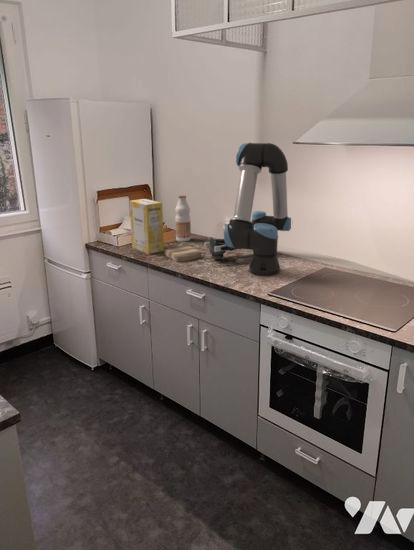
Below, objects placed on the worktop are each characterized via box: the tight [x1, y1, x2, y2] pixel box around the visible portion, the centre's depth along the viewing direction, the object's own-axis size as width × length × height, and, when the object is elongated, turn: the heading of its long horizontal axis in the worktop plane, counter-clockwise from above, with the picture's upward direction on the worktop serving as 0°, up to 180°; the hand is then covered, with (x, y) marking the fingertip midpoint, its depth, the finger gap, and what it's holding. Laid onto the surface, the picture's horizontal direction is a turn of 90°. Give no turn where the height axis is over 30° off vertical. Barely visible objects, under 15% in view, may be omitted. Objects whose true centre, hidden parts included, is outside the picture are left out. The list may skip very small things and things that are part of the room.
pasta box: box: [128, 198, 165, 255], centre depth 264 cm, size 18×10×28 cm, turn 39°
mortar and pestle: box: [207, 236, 227, 260], centre depth 244 cm, size 11×9×12 cm
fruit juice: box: [174, 194, 192, 242], centre depth 284 cm, size 9×9×28 cm
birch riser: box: [164, 245, 202, 263], centre depth 252 cm, size 15×15×4 cm
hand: (209, 247), depth 241 cm, fingers closed on mortar and pestle, 10 cm apart
